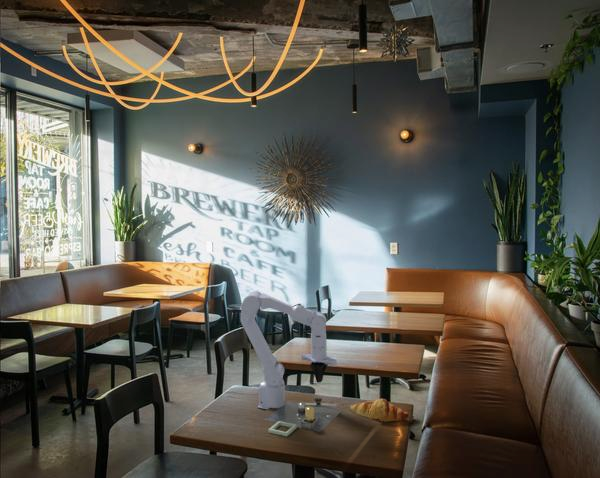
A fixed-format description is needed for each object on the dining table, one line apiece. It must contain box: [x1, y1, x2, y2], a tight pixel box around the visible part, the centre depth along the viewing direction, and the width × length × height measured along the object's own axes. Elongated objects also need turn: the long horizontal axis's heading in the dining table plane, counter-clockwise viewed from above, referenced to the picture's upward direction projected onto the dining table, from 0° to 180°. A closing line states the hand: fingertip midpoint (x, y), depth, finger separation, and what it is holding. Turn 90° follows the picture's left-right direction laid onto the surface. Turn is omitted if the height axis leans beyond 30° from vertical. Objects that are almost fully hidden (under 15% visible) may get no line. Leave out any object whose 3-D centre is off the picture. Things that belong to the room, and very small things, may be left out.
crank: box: [297, 397, 337, 412], centre depth 179 cm, size 14×3×5 cm, turn 83°
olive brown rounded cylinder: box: [305, 406, 314, 423], centre depth 168 cm, size 3×3×6 cm
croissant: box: [350, 398, 409, 422], centre depth 176 cm, size 21×10×8 cm
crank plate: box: [263, 400, 342, 433], centre depth 176 cm, size 22×18×3 cm
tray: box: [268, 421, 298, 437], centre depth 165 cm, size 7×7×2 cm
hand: (319, 381), depth 184 cm, fingers closed
